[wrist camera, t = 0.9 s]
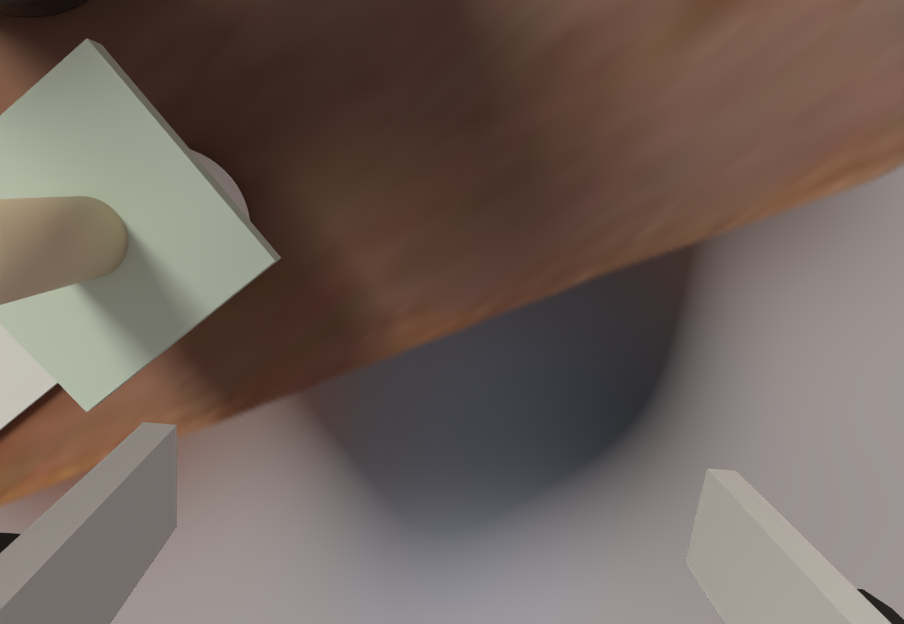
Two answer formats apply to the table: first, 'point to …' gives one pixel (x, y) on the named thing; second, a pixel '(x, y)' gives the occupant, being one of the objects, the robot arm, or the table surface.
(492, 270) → the table surface
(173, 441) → the robot arm
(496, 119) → the table surface
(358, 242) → the table surface
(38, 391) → the mat
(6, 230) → the lid
